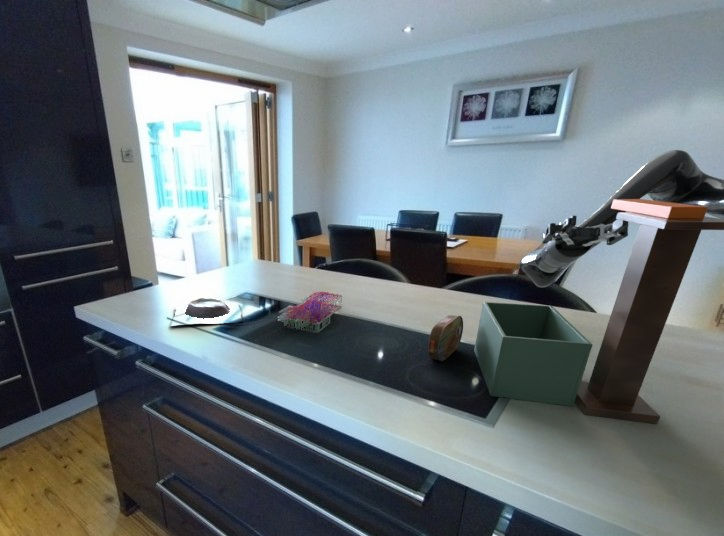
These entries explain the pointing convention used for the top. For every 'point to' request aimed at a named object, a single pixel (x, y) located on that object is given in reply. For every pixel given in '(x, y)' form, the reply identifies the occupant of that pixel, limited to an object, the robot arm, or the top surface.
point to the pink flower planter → (311, 310)
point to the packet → (660, 208)
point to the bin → (530, 353)
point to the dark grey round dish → (207, 308)
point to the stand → (640, 315)
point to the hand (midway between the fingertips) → (599, 220)
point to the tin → (445, 337)
